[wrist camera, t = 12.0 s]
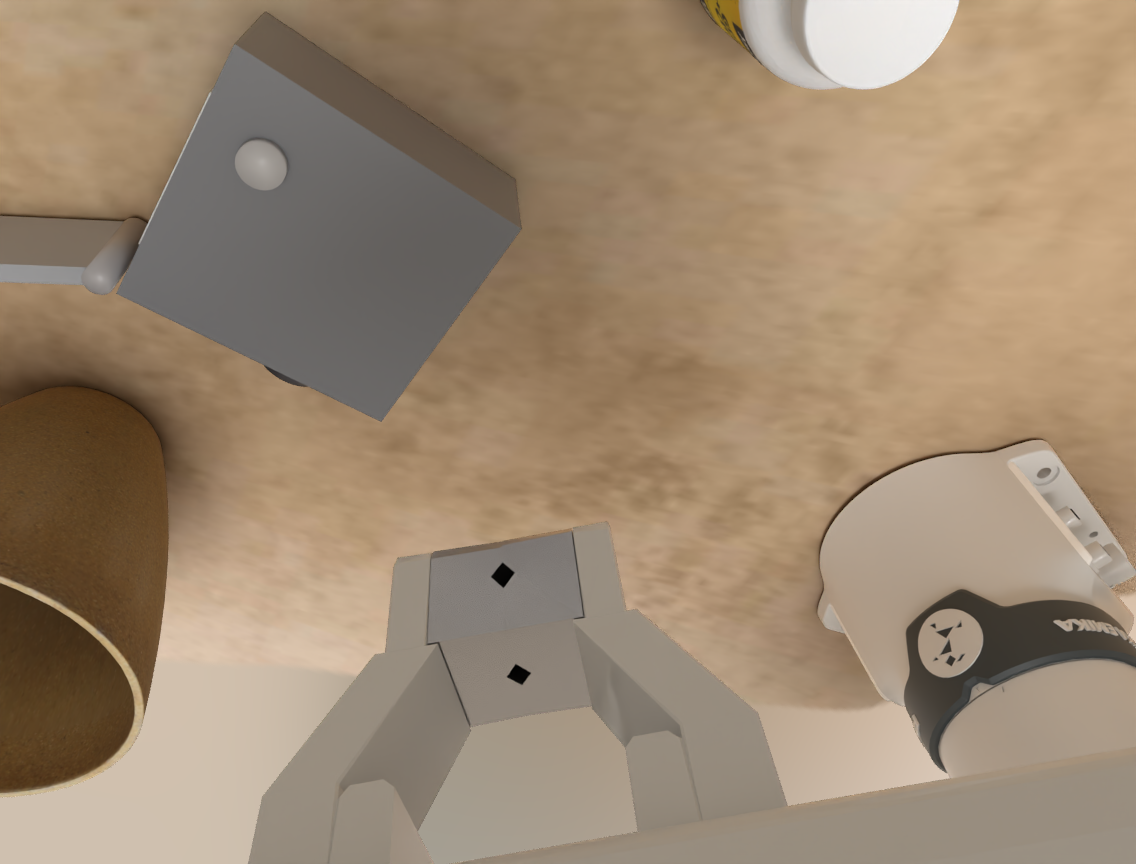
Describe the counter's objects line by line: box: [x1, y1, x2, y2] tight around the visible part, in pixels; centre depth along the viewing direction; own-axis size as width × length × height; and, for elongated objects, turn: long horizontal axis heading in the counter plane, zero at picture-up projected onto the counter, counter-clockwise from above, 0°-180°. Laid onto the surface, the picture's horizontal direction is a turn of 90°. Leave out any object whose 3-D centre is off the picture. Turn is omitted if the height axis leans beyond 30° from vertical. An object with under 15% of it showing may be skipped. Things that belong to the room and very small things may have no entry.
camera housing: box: [116, 12, 522, 422], centre depth 36 cm, size 12×12×6 cm
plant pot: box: [0, 386, 169, 797], centre depth 38 cm, size 15×15×16 cm
